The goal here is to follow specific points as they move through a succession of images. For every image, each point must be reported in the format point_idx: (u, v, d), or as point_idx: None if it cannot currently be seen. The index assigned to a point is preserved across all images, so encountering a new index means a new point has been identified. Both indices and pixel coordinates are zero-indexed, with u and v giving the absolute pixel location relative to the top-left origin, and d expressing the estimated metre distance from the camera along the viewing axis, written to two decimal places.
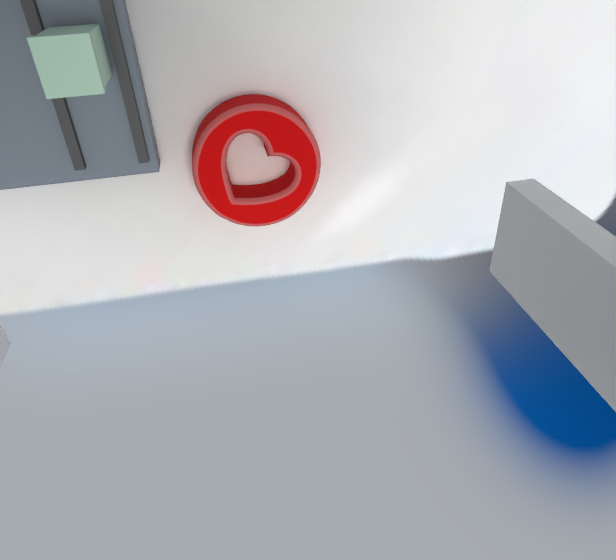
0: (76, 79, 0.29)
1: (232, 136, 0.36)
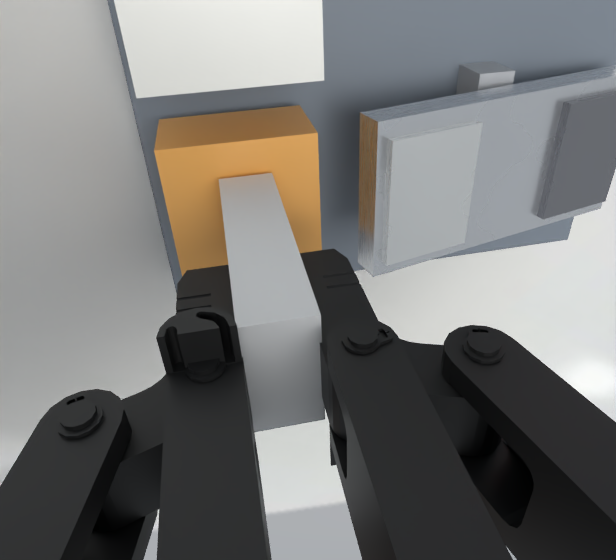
0: None
1: None
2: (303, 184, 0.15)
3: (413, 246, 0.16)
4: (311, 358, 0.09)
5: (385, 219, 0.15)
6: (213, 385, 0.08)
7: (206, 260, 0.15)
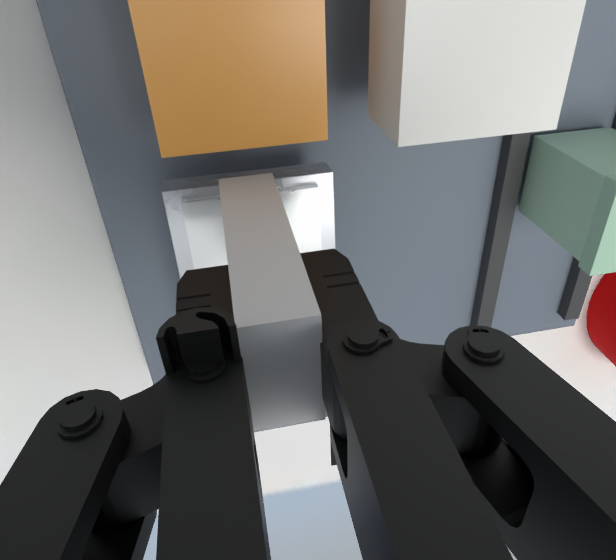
0: None
1: None
2: (273, 128, 0.13)
3: (202, 232, 0.15)
4: (311, 358, 0.09)
5: None
6: (212, 385, 0.08)
7: None
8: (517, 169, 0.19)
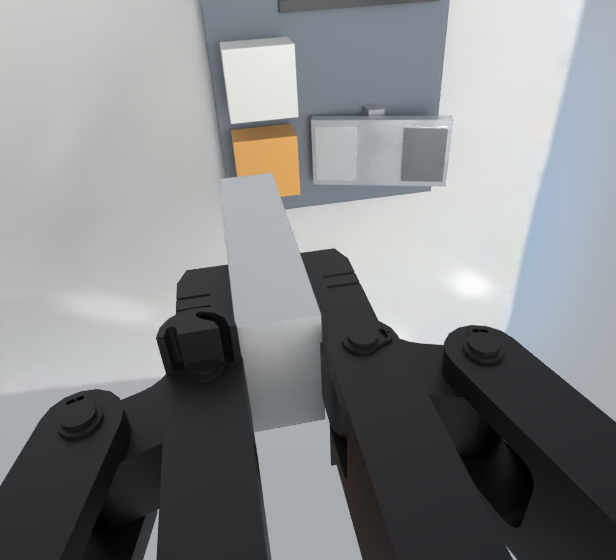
0: None
1: None
2: (291, 156, 0.36)
3: (328, 174, 0.39)
4: (311, 358, 0.09)
5: (316, 159, 0.38)
6: (213, 385, 0.08)
7: None
8: (326, 1, 0.33)
